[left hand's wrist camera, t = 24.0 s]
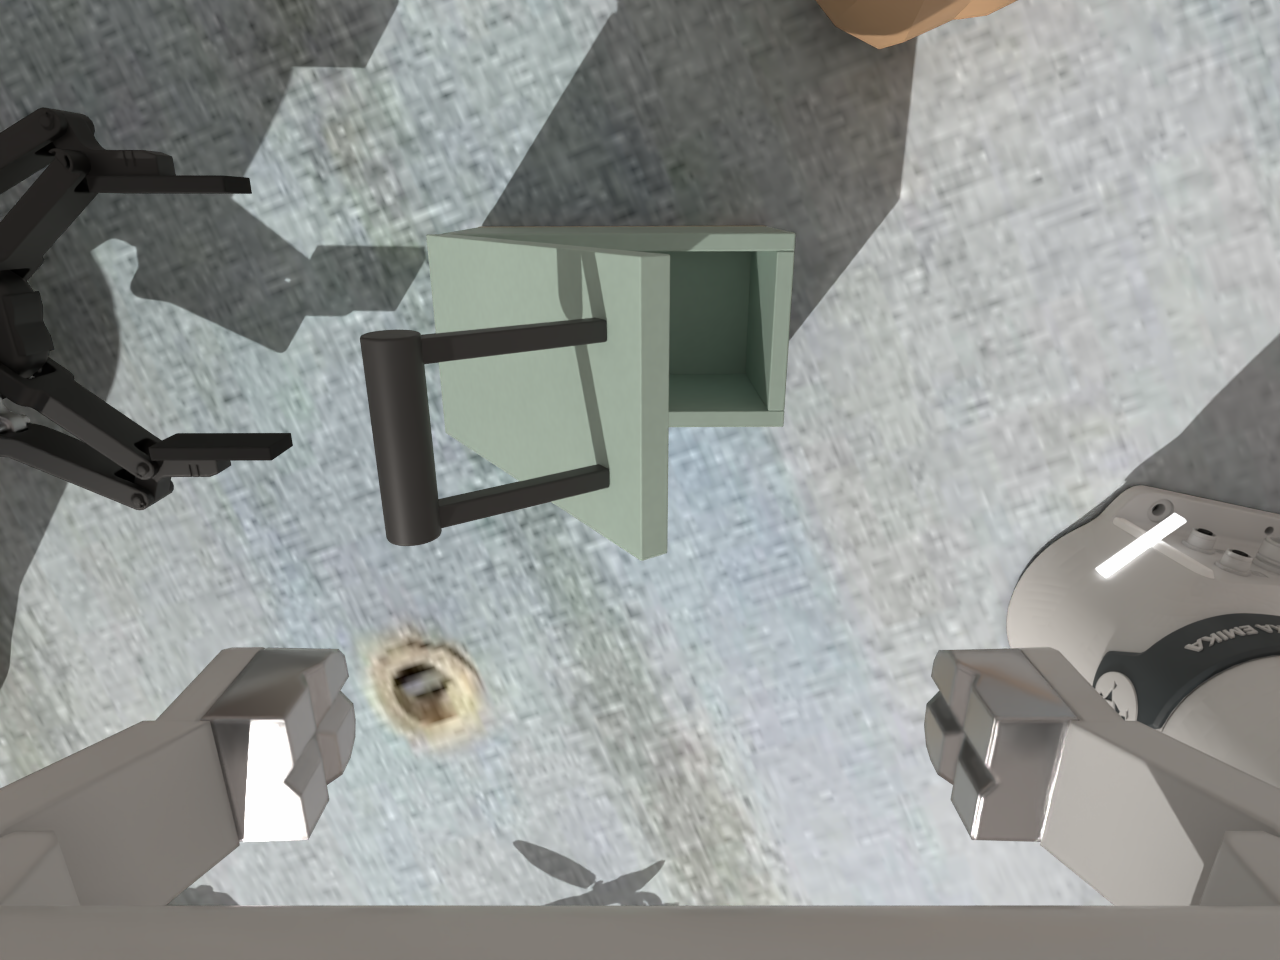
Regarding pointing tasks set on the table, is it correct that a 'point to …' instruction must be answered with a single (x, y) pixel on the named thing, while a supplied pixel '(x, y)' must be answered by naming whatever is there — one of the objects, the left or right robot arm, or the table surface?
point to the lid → (531, 388)
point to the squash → (901, 16)
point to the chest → (709, 312)
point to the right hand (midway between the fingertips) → (261, 323)
